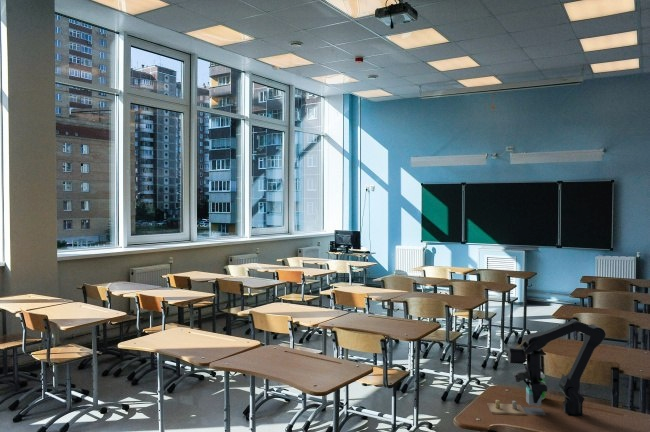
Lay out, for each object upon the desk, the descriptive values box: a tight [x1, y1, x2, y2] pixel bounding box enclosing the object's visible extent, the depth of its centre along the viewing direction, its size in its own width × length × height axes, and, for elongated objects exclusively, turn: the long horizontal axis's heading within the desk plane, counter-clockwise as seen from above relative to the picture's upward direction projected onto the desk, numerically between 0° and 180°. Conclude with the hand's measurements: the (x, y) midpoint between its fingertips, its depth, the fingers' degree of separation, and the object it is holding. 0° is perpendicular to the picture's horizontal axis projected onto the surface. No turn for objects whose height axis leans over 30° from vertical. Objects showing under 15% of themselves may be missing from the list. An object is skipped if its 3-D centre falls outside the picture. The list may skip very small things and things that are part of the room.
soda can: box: [526, 371, 546, 401], centre depth 233 cm, size 8×8×12 cm
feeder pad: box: [522, 406, 547, 416], centre depth 218 cm, size 8×8×1 cm
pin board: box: [486, 399, 527, 416], centre depth 220 cm, size 14×10×4 cm
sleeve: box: [525, 386, 542, 407], centre depth 218 cm, size 5×5×6 cm
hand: (533, 400), depth 218 cm, fingers closed on sleeve, 5 cm apart
